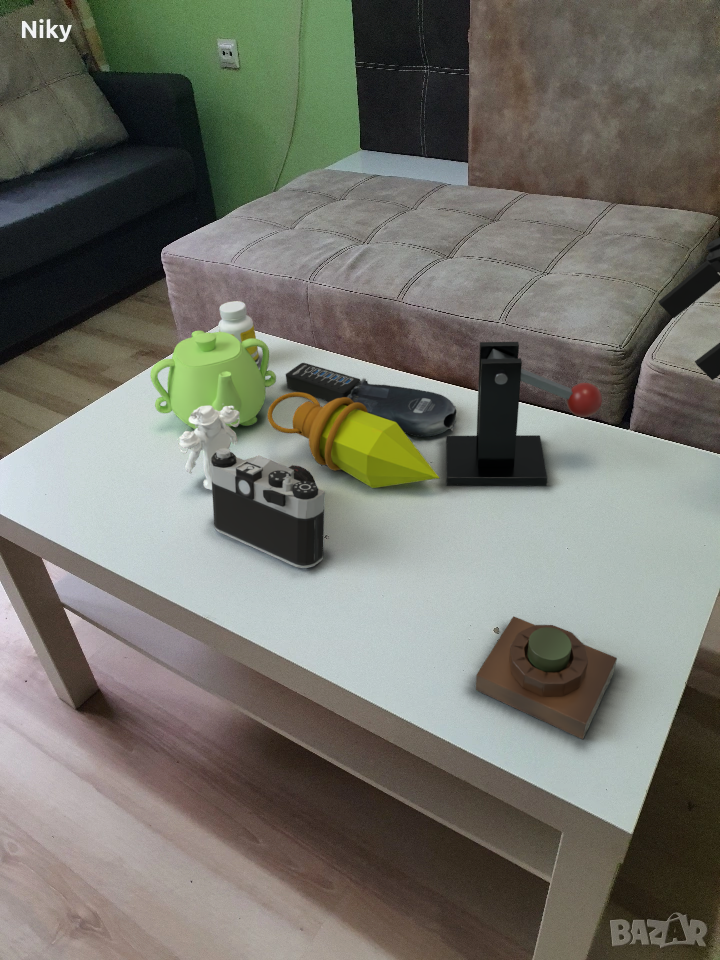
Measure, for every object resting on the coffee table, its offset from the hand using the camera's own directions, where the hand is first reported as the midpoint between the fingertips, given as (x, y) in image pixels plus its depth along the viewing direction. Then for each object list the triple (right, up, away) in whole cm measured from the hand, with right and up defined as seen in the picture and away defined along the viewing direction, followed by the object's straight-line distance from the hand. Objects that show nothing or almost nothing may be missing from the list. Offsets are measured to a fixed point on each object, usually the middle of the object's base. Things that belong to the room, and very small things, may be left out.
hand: (683, 338), depth 83 cm
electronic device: (-30, -7, +22) cm, 38 cm away
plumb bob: (-36, -14, +14) cm, 41 cm away
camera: (-44, -21, +6) cm, 49 cm away
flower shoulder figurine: (-53, -16, +13) cm, 57 cm away
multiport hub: (-41, -2, +30) cm, 50 cm away
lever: (-15, -6, +6) cm, 17 cm away
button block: (-19, -34, -14) cm, 41 cm away
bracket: (-18, -13, +12) cm, 26 cm away
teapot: (-55, -7, +25) cm, 61 cm away
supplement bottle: (-54, +3, +38) cm, 66 cm away
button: (-19, -31, -16) cm, 40 cm away
